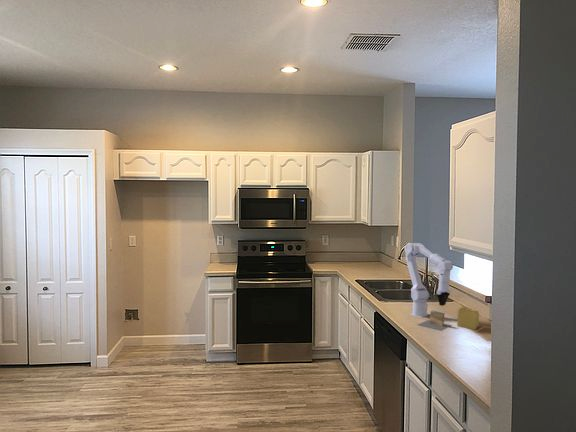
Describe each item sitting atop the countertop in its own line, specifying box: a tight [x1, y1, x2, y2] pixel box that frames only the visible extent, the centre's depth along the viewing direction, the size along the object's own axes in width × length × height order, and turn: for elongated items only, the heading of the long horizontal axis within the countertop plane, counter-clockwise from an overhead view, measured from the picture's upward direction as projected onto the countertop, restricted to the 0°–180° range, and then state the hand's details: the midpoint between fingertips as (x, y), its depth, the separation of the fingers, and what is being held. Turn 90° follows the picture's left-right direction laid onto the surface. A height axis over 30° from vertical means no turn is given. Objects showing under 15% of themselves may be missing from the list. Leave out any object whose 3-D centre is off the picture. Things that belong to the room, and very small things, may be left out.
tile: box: [429, 310, 445, 326], centre depth 269 cm, size 2×7×7 cm, turn 50°
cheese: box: [456, 305, 480, 330], centre depth 269 cm, size 10×11×10 cm
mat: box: [417, 319, 453, 332], centre depth 267 cm, size 16×14×1 cm
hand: (442, 305), depth 273 cm, fingers closed
